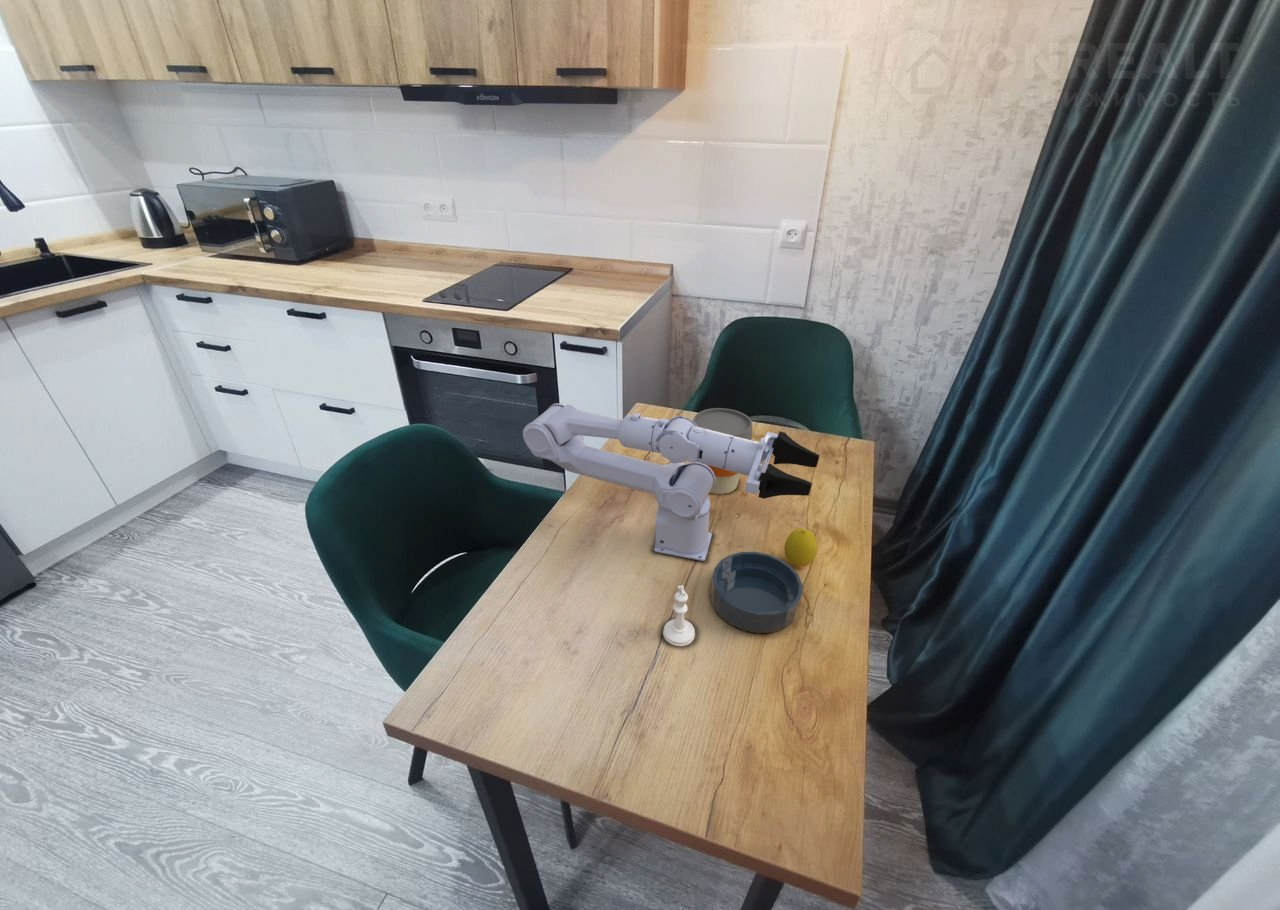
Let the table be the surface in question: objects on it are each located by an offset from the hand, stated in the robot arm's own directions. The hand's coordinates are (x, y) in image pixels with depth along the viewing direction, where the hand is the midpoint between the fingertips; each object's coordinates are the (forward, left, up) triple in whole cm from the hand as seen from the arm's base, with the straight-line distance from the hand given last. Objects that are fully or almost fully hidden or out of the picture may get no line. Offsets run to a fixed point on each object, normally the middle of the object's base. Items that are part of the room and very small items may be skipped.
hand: (814, 475), depth 88 cm
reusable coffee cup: (-18, +24, -21) cm, 37 cm away
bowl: (-6, -9, -21) cm, 23 cm away
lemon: (0, +2, -21) cm, 21 cm away
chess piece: (-17, -19, -21) cm, 33 cm away
